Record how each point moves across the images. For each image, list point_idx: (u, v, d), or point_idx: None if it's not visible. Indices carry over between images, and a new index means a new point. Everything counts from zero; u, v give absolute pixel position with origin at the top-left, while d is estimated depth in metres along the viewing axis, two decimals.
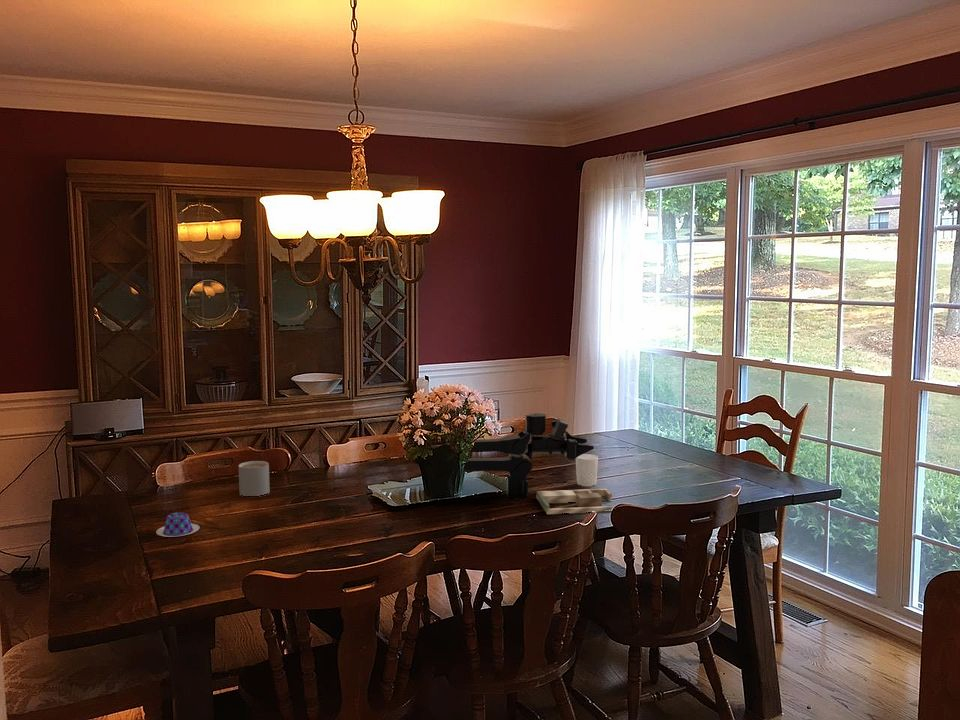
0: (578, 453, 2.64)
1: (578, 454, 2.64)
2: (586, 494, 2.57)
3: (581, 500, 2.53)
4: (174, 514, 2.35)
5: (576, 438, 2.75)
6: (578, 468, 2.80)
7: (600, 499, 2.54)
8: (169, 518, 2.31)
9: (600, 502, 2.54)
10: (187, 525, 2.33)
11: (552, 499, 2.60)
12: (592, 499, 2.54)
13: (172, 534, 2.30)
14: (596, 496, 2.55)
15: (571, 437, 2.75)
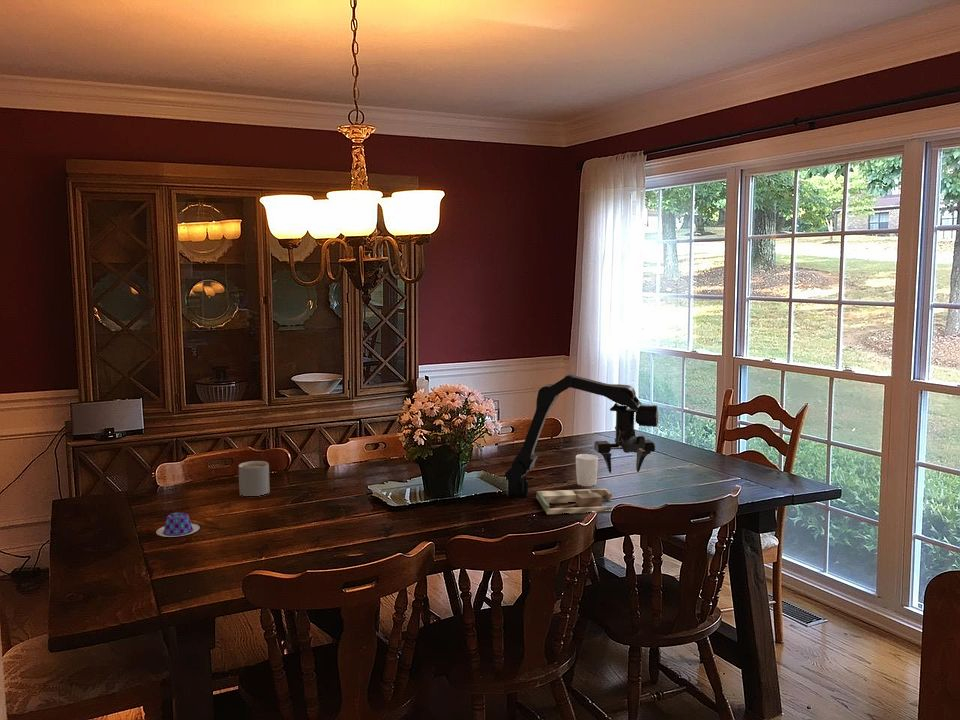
0: (603, 455, 2.57)
1: (603, 454, 2.57)
2: (586, 494, 2.57)
3: (582, 500, 2.53)
4: (174, 514, 2.35)
5: (639, 461, 2.56)
6: (578, 468, 2.80)
7: (600, 499, 2.54)
8: (169, 518, 2.31)
9: (600, 502, 2.54)
10: (187, 525, 2.33)
11: (552, 499, 2.60)
12: (593, 499, 2.54)
13: (172, 534, 2.30)
14: (596, 496, 2.55)
15: (640, 456, 2.55)
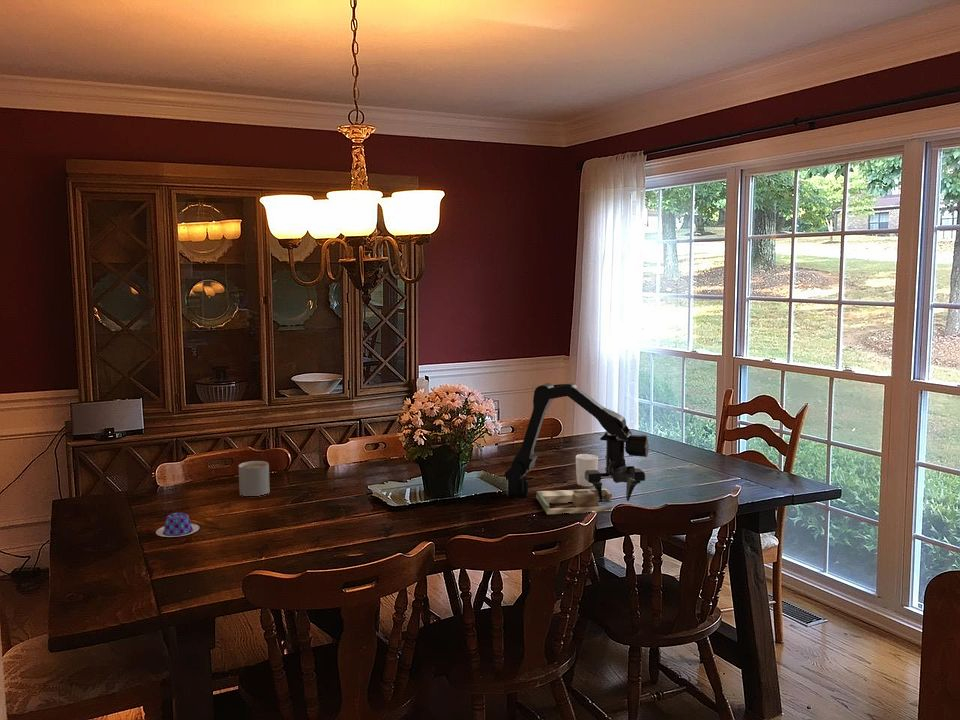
0: None
1: None
2: (582, 493, 2.57)
3: (579, 500, 2.53)
4: (174, 514, 2.35)
5: (628, 490, 2.57)
6: (578, 468, 2.80)
7: (597, 498, 2.54)
8: (169, 518, 2.31)
9: (597, 501, 2.55)
10: (187, 525, 2.33)
11: (552, 499, 2.60)
12: (589, 498, 2.54)
13: (172, 534, 2.30)
14: (593, 495, 2.55)
15: (630, 485, 2.56)
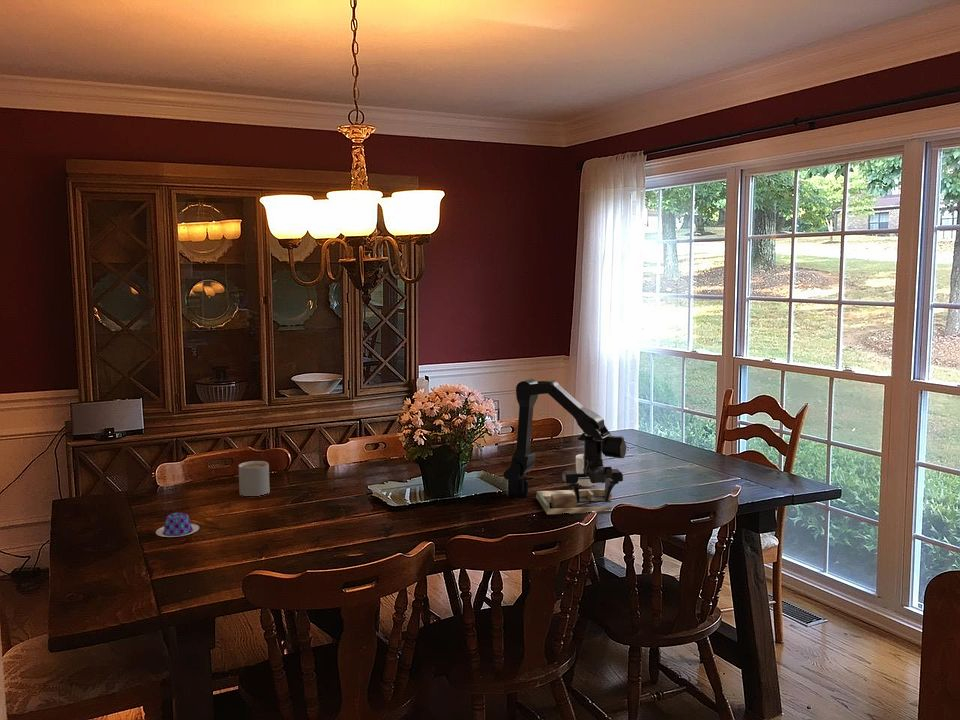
0: None
1: None
2: (561, 494, 2.57)
3: (555, 501, 2.53)
4: (173, 514, 2.35)
5: (607, 491, 2.56)
6: (578, 468, 2.80)
7: (574, 500, 2.53)
8: (169, 518, 2.31)
9: (574, 503, 2.53)
10: (187, 525, 2.33)
11: None
12: (566, 499, 2.53)
13: (172, 534, 2.30)
14: (570, 497, 2.54)
15: (608, 486, 2.55)
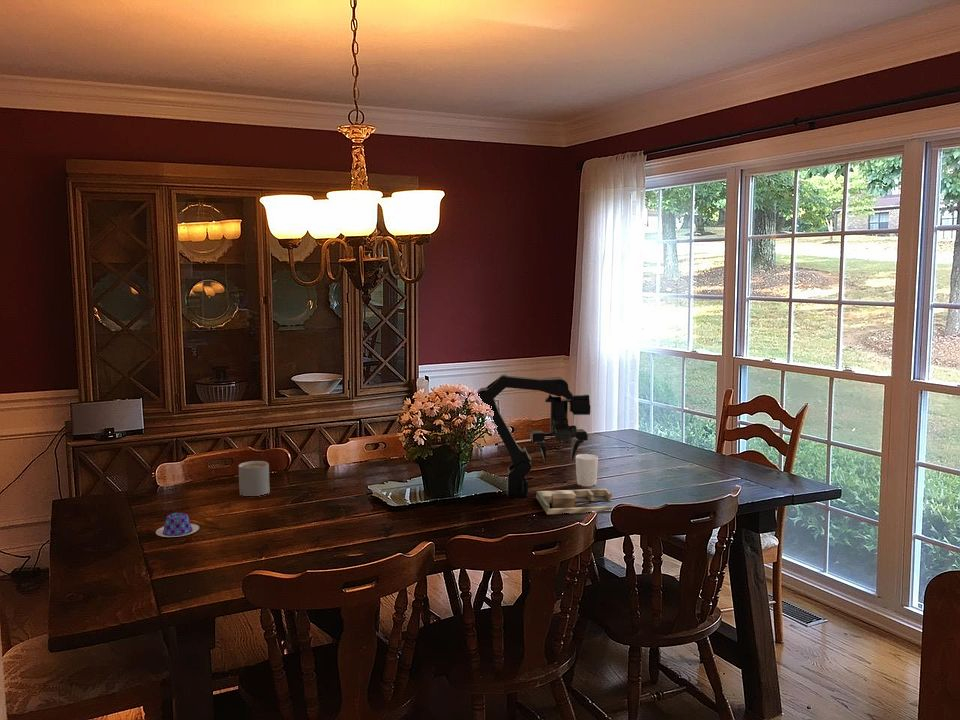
0: (539, 443, 2.68)
1: (538, 443, 2.68)
2: (561, 494, 2.57)
3: (554, 500, 2.53)
4: (173, 514, 2.35)
5: (572, 450, 2.67)
6: (578, 468, 2.80)
7: (573, 500, 2.53)
8: (169, 518, 2.31)
9: (573, 503, 2.53)
10: (188, 525, 2.33)
11: None
12: (565, 499, 2.53)
13: (173, 534, 2.30)
14: (570, 497, 2.54)
15: (573, 445, 2.67)
